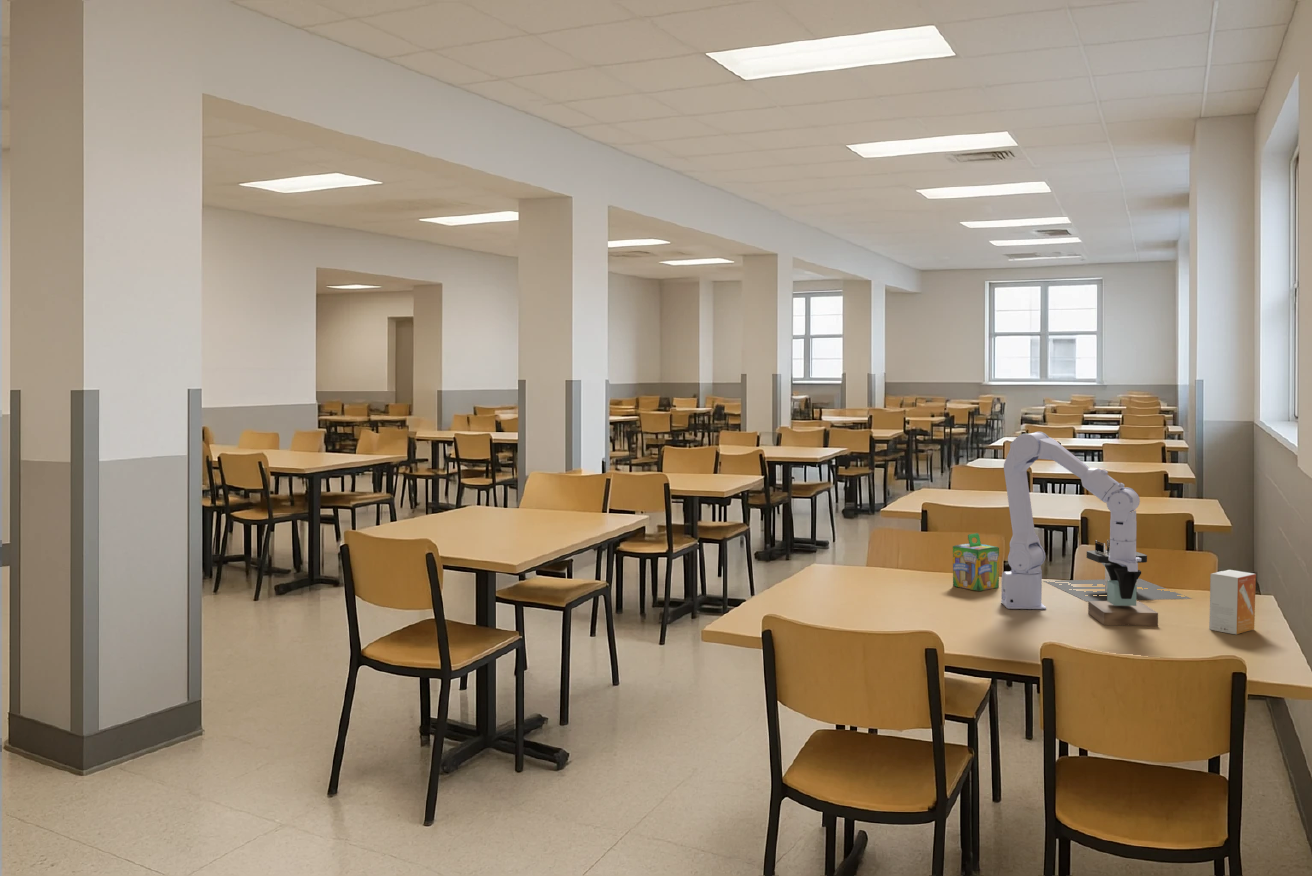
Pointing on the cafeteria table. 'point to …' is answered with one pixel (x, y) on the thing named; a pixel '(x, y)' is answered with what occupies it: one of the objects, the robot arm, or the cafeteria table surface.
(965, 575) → the chalk box
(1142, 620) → the walnut base
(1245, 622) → the small box
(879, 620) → the cafeteria table surface
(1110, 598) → the teal cube
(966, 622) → the cafeteria table surface
